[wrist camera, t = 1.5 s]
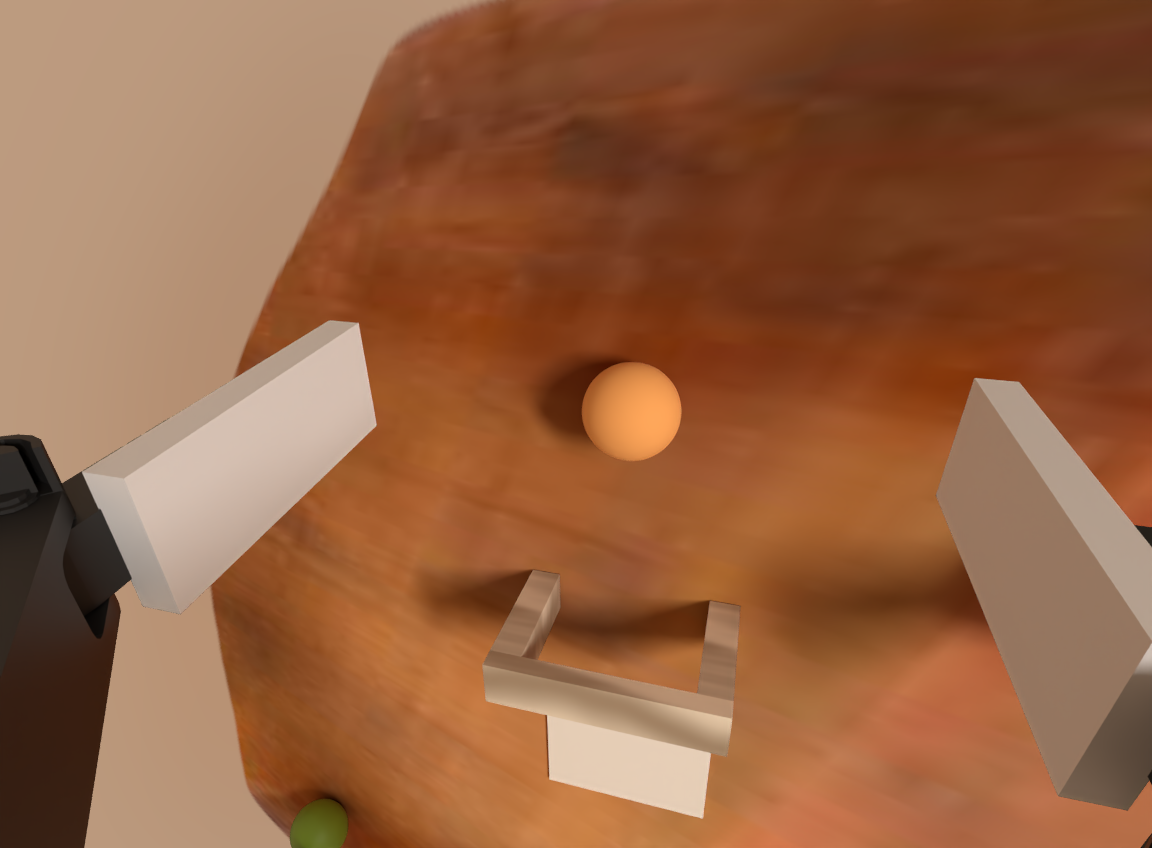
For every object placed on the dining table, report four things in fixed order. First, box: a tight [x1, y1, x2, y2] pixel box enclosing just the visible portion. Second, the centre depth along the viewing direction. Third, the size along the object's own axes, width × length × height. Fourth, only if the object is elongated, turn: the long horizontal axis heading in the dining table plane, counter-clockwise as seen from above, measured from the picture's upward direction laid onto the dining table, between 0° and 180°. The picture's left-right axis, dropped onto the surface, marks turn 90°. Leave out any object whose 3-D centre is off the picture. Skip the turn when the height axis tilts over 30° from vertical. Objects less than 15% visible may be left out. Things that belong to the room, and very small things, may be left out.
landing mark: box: [547, 715, 711, 819], centre depth 51 cm, size 13×13×1 cm
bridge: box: [483, 570, 740, 757], centre depth 41 cm, size 3×14×9 cm, turn 90°
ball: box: [582, 362, 681, 461], centre depth 36 cm, size 6×6×6 cm
